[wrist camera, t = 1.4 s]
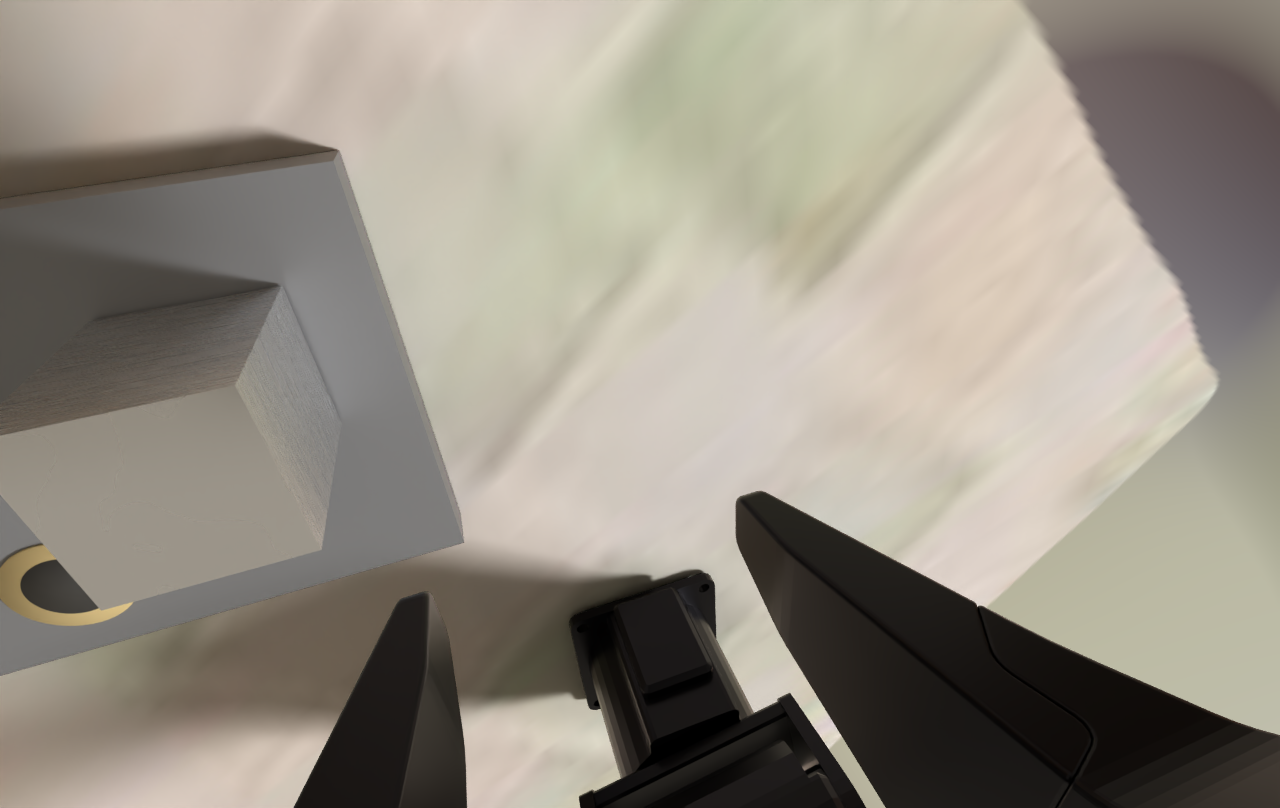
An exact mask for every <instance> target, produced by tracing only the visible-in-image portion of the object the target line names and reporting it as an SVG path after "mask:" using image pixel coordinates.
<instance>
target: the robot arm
mask: <svg viewBox="0 0 1280 808" xmlns="http://www.w3.org/2000/svg"><path fill="white" fill-rule="evenodd" d="M736 540H737V544H738V547H739V550H740V552H741V554H742V556H743V558H744V560H745V562H746V565H747V567H748V569H749V571H750V573H751V575H752V577H753V579H754V582H755V584H756V586H757V588H758V590H759V592H760V594H761V596H762V599H763V601H764V603H765V605H766V607H767V609H768V611H769V613H770V616H771V618H772V620H773V622H774V624H775V626H776V628H777V630H778V632H779V634H780V636H781V637H782V639H783V641H784V643H785V644H786V646H787V648H788V649H789V651H790V653H791V654H792V656H793V658H794V659H795V661H796V662H797V664H798V666H799V667H800V669H801V671H802V672H803V674H804V675H805V677H806V679H807V680H808V682H809V684H810V685H811V687H812V688H813V690H814V692H815V693H816V695H817V697H818V698H819V700H820V701H821V703H822V705H823V706H824V708H825V710H826V711H827V713H828V714H829V716H830V718H831V719H832V721H833V723H834V724H835V726H836V727H837V729H838V731H839V732H840V734H841V736H842V737H843V739H844V740H845V742H846V744H847V745H848V747H849V748H850V750H851V752H852V753H853V755H854V757H855V758H856V760H857V762H858V763H859V765H860V766H861V768H862V770H863V771H864V773H865V775H866V776H867V778H868V779H869V781H870V783H871V784H872V786H873V788H874V789H875V791H876V792H877V794H878V796H879V797H880V799H881V801H882V802H883V804H884V805H885V807H886V808H1280V735H1277V734H1273V733H1270V732H1266V731H1263V730H1259V729H1256V728H1253V727H1250V726H1247V725H1244V724H1241V723H1238V722H1235V721H1232V720H1230V719H1228V718H1225V717H1223V716H1220V715H1218V714H1215V713H1213V712H1210V711H1208V710H1206V709H1204V708H1201V707H1199V706H1197V705H1194V704H1192V703H1190V702H1188V701H1185V700H1183V699H1181V698H1178V697H1176V696H1174V695H1171V694H1169V693H1167V692H1165V691H1162V690H1160V689H1158V688H1156V687H1153V686H1151V685H1149V684H1146V683H1144V682H1142V681H1140V680H1137V679H1135V678H1133V677H1130V676H1128V675H1126V674H1123V673H1121V672H1119V671H1117V670H1114V669H1112V668H1110V667H1107V666H1105V665H1103V664H1100V663H1098V662H1096V661H1094V660H1092V659H1090V658H1087V657H1085V656H1083V655H1081V654H1079V653H1076V652H1074V651H1072V650H1070V649H1068V648H1065V647H1063V646H1061V645H1059V644H1057V643H1054V642H1052V641H1050V640H1048V639H1046V638H1044V637H1042V636H1040V635H1038V634H1036V633H1034V632H1032V631H1030V630H1028V629H1026V628H1024V627H1022V626H1020V625H1018V624H1016V623H1014V622H1012V621H1010V620H1008V619H1006V618H1004V617H1003V616H1001V615H999V614H997V613H995V612H993V611H991V610H989V609H987V608H985V607H984V606H978V607H977V605H976V603H975V602H974V601H972V600H970V599H968V598H966V597H964V596H962V595H960V594H958V593H956V592H955V591H953V590H951V589H949V588H947V587H945V586H943V585H941V584H939V583H937V582H936V581H934V580H932V579H930V578H928V577H926V576H924V575H922V574H920V573H918V572H916V571H915V570H913V569H911V568H909V567H907V566H905V565H903V564H901V563H899V562H897V561H896V560H894V559H892V558H890V557H888V556H886V555H884V554H882V553H880V552H878V551H877V550H875V549H873V548H871V547H869V546H867V545H865V544H863V543H861V542H859V541H857V540H856V539H854V538H852V537H850V536H848V535H846V534H844V533H842V532H840V531H838V530H837V529H835V528H833V527H831V526H829V525H827V524H825V523H823V522H821V521H819V520H817V519H816V518H814V517H812V516H810V515H808V514H806V513H804V512H802V511H800V510H798V509H797V508H795V507H793V506H791V505H789V504H787V503H785V502H783V501H781V500H779V499H778V498H776V497H774V496H772V495H770V494H768V493H766V492H763V491H756V492H753V493H750V494H746V495H743V496H740V497H739V498H738V499H737V501H736ZM569 626H570V631H571V635H572V639H573V643H574V648H575V652H576V656H577V661H578V665H579V669H580V673H581V678H582V682H583V686H584V690H585V695H586V699H587V703H588V706H589V708H590V709H592V710H598V709H601V711H602V715H603V718H604V722H605V725H606V728H607V732H608V735H609V739H610V742H611V746H612V749H613V753H614V756H615V759H616V763H617V766H618V770H619V773H620V777H621V779H619V780H617V781H615V782H613V783H611V784H609V785H607V786H605V787H603V788H601V789H599V790H597V791H595V792H594V790H591V791H589V792H587V793H584V794H582V795H580V796H579V801H580V808H866V807H865V805H864V803H863V801H862V800H861V798H860V796H859V795H858V793H857V791H856V790H855V788H854V786H853V785H852V783H851V782H850V780H849V778H848V777H847V776H846V774H845V773H844V771H843V770H842V768H841V767H840V765H839V764H838V762H837V761H836V759H835V758H834V757H833V755H832V754H831V752H830V751H829V749H828V748H827V746H826V745H825V743H824V742H823V740H822V739H821V737H820V736H819V734H818V733H817V731H816V730H815V729H814V727H813V726H812V724H811V723H810V721H809V720H808V718H807V717H806V715H805V714H804V712H803V711H802V710H801V708H800V707H799V705H798V704H797V702H796V701H795V699H794V698H793V696H792V695H791V694H790V693H788V694H786V695H784V696H782V697H780V698H778V699H777V700H778V702H776V703H774V704H772V705H770V706H768V707H765V708H763V709H761V710H759V711H757V712H755V713H754V712H753V710H752V708H751V706H750V704H749V702H748V700H747V698H746V696H745V694H744V693H743V691H742V689H741V687H740V685H739V683H738V681H737V679H736V677H735V675H734V673H733V671H732V669H731V667H730V665H729V663H728V661H727V659H726V657H725V655H724V653H723V651H722V650H721V648H720V646H719V644H718V642H717V640H716V615H715V584H714V582H713V580H712V578H711V576H710V575H709V574H707V573H702V574H698V575H695V576H692V577H689V578H686V579H683V580H680V581H677V582H673V583H670V584H667V585H664V586H661V587H658V588H655V589H652V590H649V591H646V592H643V593H640V594H637V595H634V596H630V597H627V598H624V599H621V600H618V601H615V602H612V603H609V604H606V605H603V606H600V607H597V608H594V609H591V610H587V611H584V612H581V613H578V614H576V615H574V616H573V617H572V618H571V619H570V621H569ZM294 808H467V793H466V762H465V747H464V738H463V729H462V723H461V716H460V709H459V703H458V696H457V689H456V682H455V676H454V669H453V662H452V656H451V649H450V642H449V637H448V633H447V630H446V627H445V624H444V622H443V620H442V617H441V615H440V612H439V610H438V607H437V605H436V603H435V600H434V598H433V596H432V594H431V593H430V592H421V593H418V594H415V595H412V596H408V597H405V598H402V599H401V600H399V601H398V603H397V604H396V606H395V608H394V610H393V612H392V614H391V616H390V618H389V620H388V622H387V624H386V626H385V628H384V630H383V632H382V634H381V636H380V638H379V640H378V642H377V644H376V646H375V648H374V650H373V652H372V654H371V656H370V657H369V659H368V661H367V663H366V665H365V667H364V669H363V671H362V673H361V675H360V677H359V679H358V681H357V683H356V685H355V687H354V689H353V691H352V693H351V695H350V697H349V699H348V701H347V703H346V705H345V707H344V709H343V711H342V713H341V715H340V717H339V719H338V721H337V723H336V725H335V727H334V729H333V731H332V733H331V735H330V737H329V739H328V741H327V743H326V745H325V747H324V748H323V750H322V752H321V754H320V756H319V758H318V760H317V762H316V764H315V766H314V768H313V770H312V772H311V774H310V776H309V778H308V780H307V782H306V784H305V786H304V788H303V790H302V792H301V794H300V796H299V798H298V800H297V802H296V804H295V806H294Z"/></svg>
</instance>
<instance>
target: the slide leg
mask: <svg viewBox="0 0 1280 808" xmlns="http://www.w3.org/2000/svg"><path fill="white" fill-rule="evenodd" d="M340 429H341V421H340V419H339V417H338V414H337V412H336V410H335V407H334V405H333V403H332V400H331V398H330V396H329V393H328V391H327V389H326V386H325V384H324V382H323V379H322V377H321V375H320V373H319V370H318V368H317V366H316V363H315V361H314V359H313V356H312V354H311V352H310V349H309V347H308V345H307V342H306V340H305V338H304V335H303V333H302V331H301V329H300V326H299V324H298V322H297V319H296V317H295V315H294V312H293V310H292V308H291V305H290V303H289V301H288V298H287V296H286V294H285V291H284V289H283V287H282V286H276V287H271V288H266V289H260V290H255V291H249V292H244V293H238V294H233V295H228V296H222V297H217V298H211V299H206V300H201V301H195V302H190V303H184V304H179V305H173V306H168V307H163V308H157V309H152V310H146V311H141V312H136V313H130V314H125V315H119V316H114V317H108V318H103V319H98V320H92V321H89V322H88V323H87V324H85V325H84V326H83V327H82V328H81V329H80V330H79V331H78V332H77V333H76V334H75V335H74V336H73V337H72V338H70V339H69V340H68V341H67V342H66V343H65V344H64V345H63V346H62V347H61V348H60V349H59V350H58V351H57V352H56V353H54V354H53V355H52V356H51V357H50V358H49V359H48V360H47V361H46V362H45V363H44V364H43V365H42V366H41V367H39V368H38V369H37V370H36V371H35V372H34V373H33V374H32V375H31V376H30V377H29V378H28V379H27V380H26V381H25V382H23V383H22V384H21V385H20V386H19V387H18V388H17V389H16V390H15V391H14V392H13V393H12V394H11V395H10V396H8V397H7V398H6V399H5V400H4V401H3V402H2V403H1V404H0V495H1V496H2V498H3V499H4V500H5V501H6V502H7V503H8V504H9V506H10V507H11V508H12V509H13V510H14V511H15V512H16V514H17V515H18V516H19V517H20V518H21V519H22V521H23V522H24V523H25V524H26V525H27V526H28V527H29V529H30V530H31V531H32V532H33V533H34V534H35V535H36V537H37V538H38V539H39V540H40V541H41V542H42V543H43V545H44V546H45V547H46V548H47V549H48V550H49V551H50V553H51V554H52V555H53V556H54V557H55V558H56V559H57V561H58V562H59V563H60V564H61V565H62V566H63V567H64V569H65V570H66V571H67V572H68V573H69V574H70V575H71V577H72V578H73V579H74V580H75V581H76V582H77V583H78V585H79V586H80V587H81V588H82V589H83V590H84V591H85V593H86V594H87V595H88V596H89V597H90V598H91V599H92V601H93V602H94V603H95V604H96V605H97V606H98V608H99V609H100V610H101V611H102V610H106V609H109V608H113V607H117V606H120V605H124V604H128V603H131V602H135V601H138V600H142V599H146V598H149V597H153V596H156V595H160V594H164V593H167V592H171V591H175V590H178V589H182V588H185V587H189V586H193V585H196V584H200V583H204V582H207V581H211V580H214V579H218V578H222V577H225V576H229V575H233V574H236V573H240V572H243V571H247V570H251V569H254V568H258V567H262V566H265V565H269V564H272V563H276V562H280V561H283V560H287V559H291V558H294V557H298V556H301V555H305V554H309V553H312V552H316V551H320V550H322V544H323V538H324V531H325V525H326V519H327V512H328V506H329V499H330V493H331V487H332V480H333V474H334V467H335V461H336V455H337V448H338V442H339V435H340Z"/></svg>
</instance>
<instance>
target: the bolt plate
mask: <svg viewBox="0 0 1280 808" xmlns="http://www.w3.org/2000/svg"><path fill="white" fill-rule="evenodd" d="M276 286H282V287H283V289H284V291H285V294H286V296H287V298H288V301H289V303H290V305H291V308H292V310H293V312H294V315H295V317H296V319H297V322H298V324H299V326H300V329H301V331H302V333H303V335H304V338H305V340H306V342H307V345H308V347H309V349H310V352H311V354H312V356H313V359H314V361H315V363H316V366H317V368H318V370H319V373H320V375H321V377H322V379H323V382H324V384H325V386H326V389H327V391H328V393H329V396H330V398H331V400H332V403H333V405H334V407H335V410H336V412H337V414H338V417H339V419H340V421H341V429H340V435H339V442H338V448H337V455H336V461H335V467H334V474H333V480H332V487H331V493H330V499H329V506H328V512H327V519H326V525H325V531H324V538H323V544H322V550H320V551H316V552H312V553H309V554H305V555H301V556H298V557H294V558H291V559H287V560H283V561H280V562H276V563H272V564H269V565H265V566H262V567H258V568H254V569H251V570H247V571H243V572H240V573H236V574H233V575H229V576H225V577H222V578H218V579H214V580H211V581H207V582H204V583H200V584H196V585H193V586H189V587H185V588H182V589H178V590H175V591H171V592H167V593H164V594H160V595H156V596H153V597H149V598H146V599H142V600H138V601H135V602H131V603H128V604H124V605H120V606H117V607H113V608H109V609H106V610H102V611H101V610H100V609H99V608H98V606H97V605H96V604H95V603H94V602H93V601H92V599H91V598H90V597H89V596H88V595H87V594H86V593H85V591H84V590H83V589H82V588H81V587H80V586H79V585H78V583H77V582H76V581H75V580H74V579H73V578H72V577H71V575H70V574H69V573H68V572H67V571H66V570H65V569H64V567H63V566H62V565H61V564H60V563H59V562H58V561H57V559H56V558H55V557H54V556H53V555H52V554H51V553H50V551H49V550H48V549H47V548H46V547H45V546H44V545H43V543H42V542H41V541H40V540H39V539H38V538H37V537H36V535H35V534H34V533H33V532H32V531H31V530H30V529H29V527H28V526H27V525H26V524H25V523H24V522H23V521H22V519H21V518H20V517H19V516H18V515H17V514H16V512H15V511H14V510H13V509H12V508H11V507H10V506H9V504H8V503H7V502H6V501H5V500H4V499H3V498H2V496H1V495H0V676H2V675H5V674H9V673H12V672H15V671H19V670H22V669H26V668H29V667H33V666H36V665H40V664H43V663H47V662H50V661H54V660H57V659H61V658H64V657H68V656H71V655H75V654H78V653H82V652H85V651H89V650H92V649H96V648H99V647H102V646H106V645H109V644H113V643H116V642H120V641H123V640H127V639H130V638H134V637H137V636H141V635H144V634H148V633H151V632H155V631H158V630H162V629H165V628H169V627H172V626H176V625H179V624H183V623H186V622H190V621H193V620H196V619H200V618H203V617H207V616H210V615H214V614H217V613H221V612H224V611H228V610H231V609H235V608H238V607H242V606H245V605H249V604H252V603H256V602H259V601H263V600H266V599H270V598H273V597H277V596H280V595H283V594H287V593H290V592H294V591H297V590H301V589H304V588H308V587H311V586H315V585H318V584H322V583H325V582H329V581H332V580H336V579H339V578H343V577H346V576H350V575H353V574H357V573H360V572H364V571H367V570H371V569H374V568H377V567H381V566H384V565H388V564H391V563H395V562H398V561H402V560H405V559H409V558H412V557H416V556H419V555H423V554H426V553H430V552H433V551H437V550H440V549H444V548H447V547H451V546H454V545H458V544H461V543H464V538H463V529H462V521H461V513H460V510H459V507H458V504H457V501H456V498H455V495H454V492H453V489H452V486H451V483H450V480H449V477H448V474H447V471H446V468H445V465H444V462H443V459H442V456H441V453H440V450H439V447H438V444H437V441H436V438H435V435H434V432H433V429H432V426H431V423H430V420H429V417H428V414H427V411H426V408H425V405H424V402H423V399H422V396H421V393H420V390H419V387H418V384H417V381H416V378H415V375H414V372H413V369H412V366H411V364H410V361H409V358H408V355H407V352H406V349H405V346H404V343H403V340H402V337H401V334H400V331H399V328H398V325H397V322H396V319H395V316H394V313H393V310H392V307H391V304H390V301H389V298H388V295H387V292H386V289H385V286H384V283H383V280H382V277H381V274H380V271H379V268H378V265H377V262H376V259H375V256H374V253H373V250H372V247H371V244H370V241H369V238H368V235H367V232H366V229H365V226H364V223H363V220H362V217H361V214H360V211H359V208H358V205H357V202H356V199H355V196H354V193H353V190H352V187H351V184H350V181H349V178H348V175H347V172H346V169H345V166H344V163H343V160H342V157H341V154H340V151H339V150H336V151H329V152H322V153H315V154H308V155H301V156H294V157H287V158H280V159H273V160H266V161H259V162H252V163H245V164H238V165H230V166H223V167H216V168H209V169H202V170H195V171H188V172H181V173H174V174H167V175H160V176H153V177H146V178H139V179H132V180H125V181H118V182H111V183H104V184H97V185H90V186H83V187H76V188H69V189H62V190H55V191H48V192H41V193H34V194H27V195H20V196H13V197H6V198H0V404H1V403H2V402H3V401H4V400H5V399H6V398H7V397H8V396H10V395H11V394H12V393H13V392H14V391H15V390H16V389H17V388H18V387H19V386H20V385H21V384H22V383H23V382H25V381H26V380H27V379H28V378H29V377H30V376H31V375H32V374H33V373H34V372H35V371H36V370H37V369H38V368H39V367H41V366H42V365H43V364H44V363H45V362H46V361H47V360H48V359H49V358H50V357H51V356H52V355H53V354H54V353H56V352H57V351H58V350H59V349H60V348H61V347H62V346H63V345H64V344H65V343H66V342H67V341H68V340H69V339H70V338H72V337H73V336H74V335H75V334H76V333H77V332H78V331H79V330H80V329H81V328H82V327H83V326H84V325H85V324H87V323H88V322H89V321H92V320H98V319H103V318H108V317H114V316H119V315H125V314H130V313H136V312H141V311H146V310H152V309H157V308H163V307H168V306H173V305H179V304H184V303H190V302H195V301H201V300H206V299H211V298H217V297H222V296H228V295H233V294H238V293H244V292H249V291H255V290H260V289H266V288H271V287H276Z"/></svg>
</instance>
